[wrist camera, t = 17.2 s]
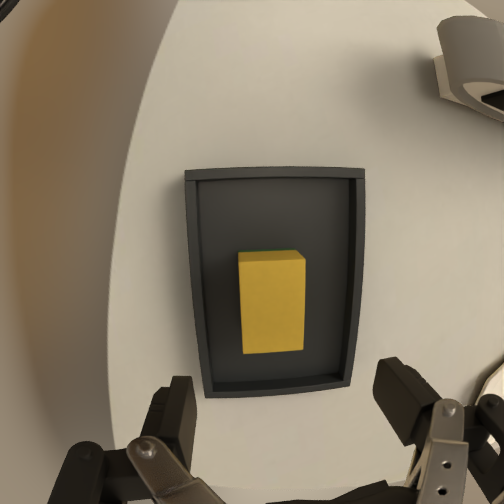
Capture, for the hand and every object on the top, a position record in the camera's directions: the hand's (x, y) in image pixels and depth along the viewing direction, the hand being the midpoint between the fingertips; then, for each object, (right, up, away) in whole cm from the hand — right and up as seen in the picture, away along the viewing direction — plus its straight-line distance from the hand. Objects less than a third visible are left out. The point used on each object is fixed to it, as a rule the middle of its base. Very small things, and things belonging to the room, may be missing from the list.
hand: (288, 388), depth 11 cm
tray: (+1, +3, +14) cm, 14 cm away
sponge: (0, +2, +13) cm, 13 cm away
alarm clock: (+26, +24, +11) cm, 36 cm away
